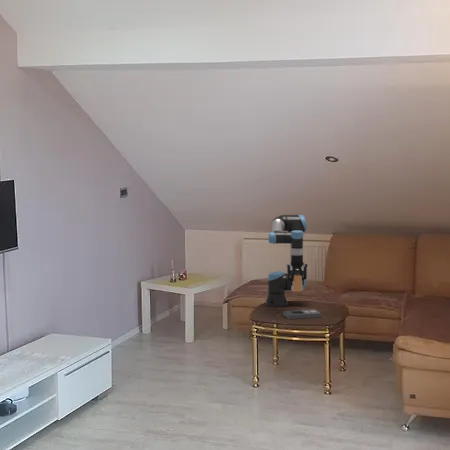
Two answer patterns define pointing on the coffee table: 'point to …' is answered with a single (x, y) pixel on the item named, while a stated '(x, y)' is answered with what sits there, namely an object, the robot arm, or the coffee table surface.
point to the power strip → (301, 314)
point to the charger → (297, 283)
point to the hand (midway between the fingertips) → (296, 290)
